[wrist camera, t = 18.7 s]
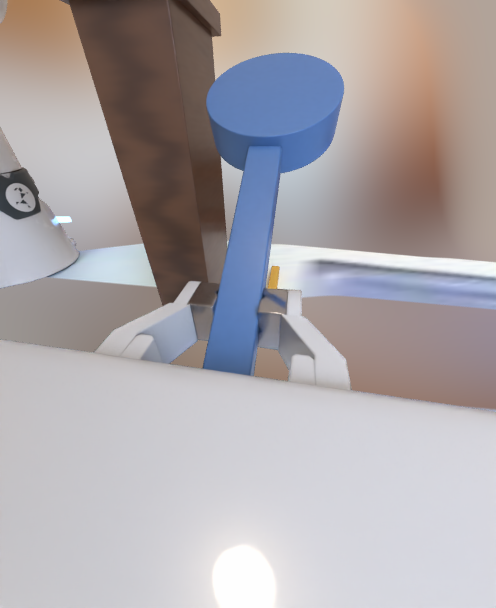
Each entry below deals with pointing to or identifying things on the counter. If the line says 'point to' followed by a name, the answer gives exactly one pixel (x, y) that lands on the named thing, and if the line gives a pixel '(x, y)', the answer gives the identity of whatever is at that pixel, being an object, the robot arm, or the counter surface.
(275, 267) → the fry
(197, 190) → the spoon stand
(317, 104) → the spoon
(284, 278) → the counter surface
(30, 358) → the robot arm
